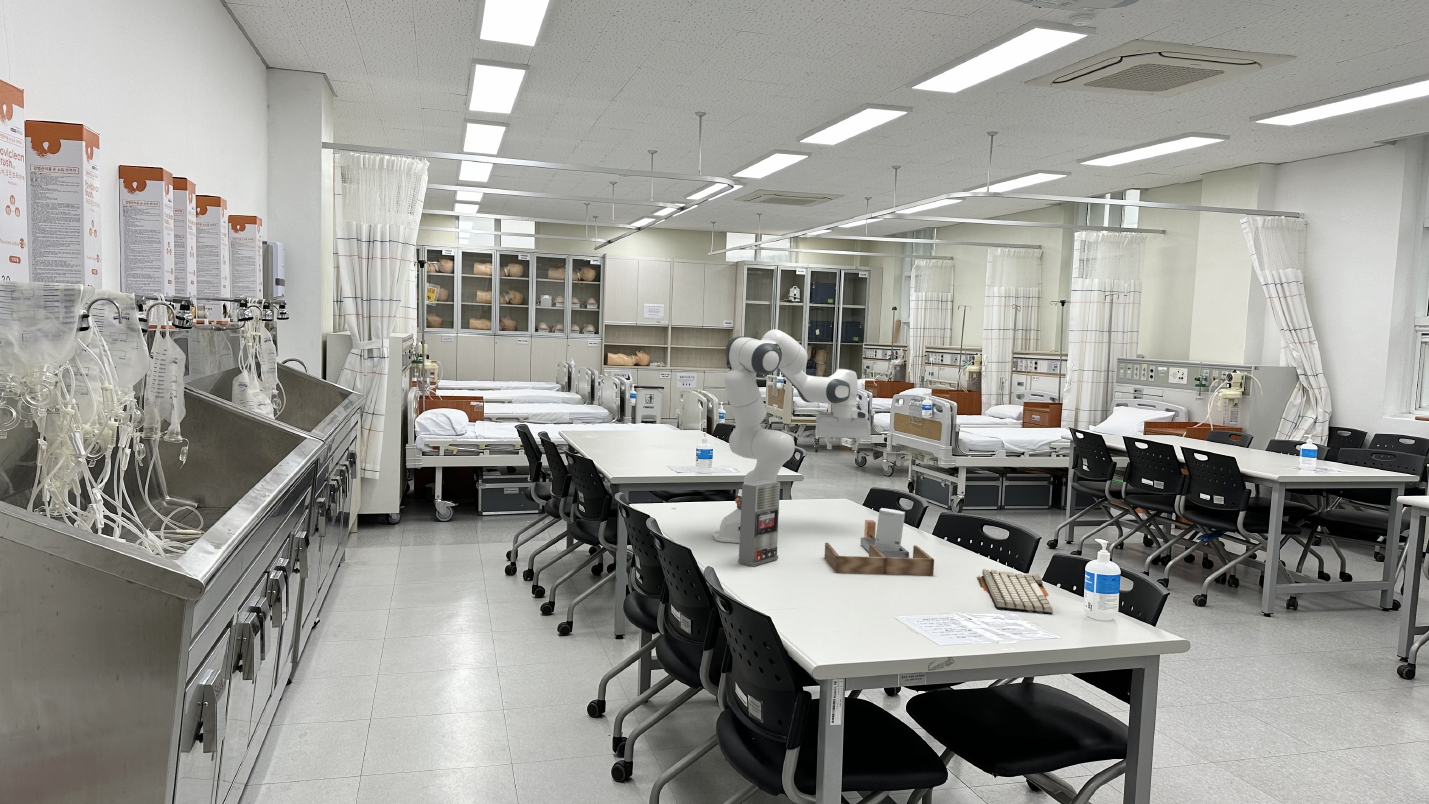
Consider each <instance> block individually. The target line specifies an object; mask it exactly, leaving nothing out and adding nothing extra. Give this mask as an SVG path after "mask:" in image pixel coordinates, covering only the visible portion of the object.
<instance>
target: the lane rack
mask: <svg viewBox="0 0 1429 804" xmlns="http://www.w3.org/2000/svg"><path fill="white" fill-rule="evenodd" d="M912 548H913V549H912V557H909V558H893V557H886V556H885V555H883V554H882V553H881V552H880V551H879V550H878V549H877V548H876V547H875V545H873V544H869V552H868V556H859V555H858V556H857V555H856V556H855V555H839V554H838V553H837V552H836V550H835V549H834V548H833V546H831V544H830V543H829V542H825V543H824V556H823V557H824V560H825V561H827V563H828V565H829V566H830V567H831V568H832V570H833V571H834V572H835V574H836V573H837V574H865V575H869V574H870V575H896V576H897V575H899V576H900V575H901V576H903V575H905V576H934V572H935V571H934V570H935V559H934V558H933V557H932V556H930V554H928V553H927V552H926V551H924V550H923V549H921V547H919V546H918V545H915V544H914V545H913V547H912Z"/></svg>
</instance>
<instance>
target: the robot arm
mask: <svg viewBox="0 0 1429 804" xmlns="http://www.w3.org/2000/svg"><path fill="white" fill-rule="evenodd" d="M724 353H725V359H726V366H727V368H728V369H729V371H728V372H726V375H725V376H724V386H725V392H726V396H727V399H728V403H729V406H730V409H731V411H732V414H733V418H734V421H735V422H734V423H735V429H733V431H732V432H731V433H730V435H729V439H728V446H729V448H730V451H731V452H732V453H733V454H734V455H737V456H739V457H742V458H744V459H752V460H756V462H755V463H756V464H755V467H754V469H753V470H750V471H749V472H747V474H745V475H744V478H743V484H746V483H752V482H758V481H764V480H770V481H777V478H778V475H779V472H780V470H781V468H782V466H783V465H784V464H785V463H787V461H789V460H790V459H791V458H792V457H793V455H794V452H795V448H796V446H795V445H796V444H795V441H794V438H793V436H791V435H790V434H788V433H786V432H783V431H781V430H776V429H769V428H763V427H762V426H761V423H762V422H763V421H764V420H765V418H766V416H767V408H766V405H765V403H764V400H763V398H762V394H761V391H760V388H759V387H758V385H757V374H758V375H761V376H762V375H763V376H766V375H772V374H773V373H774V372H776V371H777V369H778V370H779V372H780V373H781V375H782V376H783V377H784V378H786V380H787V381H788V382H789V383H790V384H791V385H792V386H793V387H794V388H795V389H796V391H797V393H798V395H799V397H800V399H801V400H802V401H803V402H805V403H807V404H808V403H809V404H810V403H815V404H816V403H818V404H828V405H831V406H832V407H831V408H832V409H831V411H819V412H818V413H817V414H816V415H815V422H816V424H815V425H816V426H815V430H814V431H815V433H814V434H815V435H816V436H817V437H820V438H821V437H823V438H824V441H825V443H826V449H827V450H832V449H833V447H832V446H833V444H832V443H830V442H829V440H830V438H844V439H845V438H846V439H855V444H852V446H851V450H852V451H857V450H858V446H859V444H860V442H861V440H862V439H865V440H866V439H870V437H871V435H872V434H871V422H870V420H868V419H869V413H868V412H866V411H863V410H861V409H859V408H858V409H857V401H856V400H857V395H858V376H857V372H856V371H855V370H852V369H848V368H844V367H843V368H840V367H839V368H836V370H835V372H834V373H833V374H831V375H830V376H827V377H826V376H816V375H810V374H807V373H806V372H804V369H805V368H806V365H807V363H808V353H807V350H806V349H805V348H804V347H803V346H802V345H801V344H800V343H799V342H798V341H797V340H796V339H794V337H792V336H791V335H789V334H787V333H786V332H784V331H782V330H779V329H771V330H768V331H767V332H766V333H765V334H764V335H763V336H762V338H761V339H760V340H759V339H756V338H753V337H747V336H745V335H744V336H741V335H740V336H739V335H738V336H735V337H732V338H731V339H729V341H727V344H726V346H725V351H724ZM734 502H735V504H736V509H735V510H733V511H732V512H730V513H729V514H727V515H726V516H725V517H723V519H722V520H721V522H720V525H719V530H716V531H714V532H713V535H712V538H713V539H714V540H715V541H717V542H719V543H720V542H721V543H733V544H740V523H741V502H742V497H741V498H740V497H736V498H735V499H734Z"/></svg>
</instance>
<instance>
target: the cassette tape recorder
mask: <svg viewBox="0 0 1429 804" xmlns="http://www.w3.org/2000/svg"><path fill="white" fill-rule="evenodd" d="M780 492H781V482H780V481H777V480H776V481H770V480H764V481H758V482H752V483H746V484H744V483H742V484H741V498H742V502H741V523H740V543H738V544H739V546H738V547H739V548H738V560H737V563H738V564H740V565H746V566H750V567H753V568H754V567H756V566H760V565H762V564H767V563H770V562H772V561H776V560H779V555H778V533H779V532H778V531H779V514H780V494H781V493H780Z"/></svg>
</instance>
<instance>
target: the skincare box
mask: <svg viewBox="0 0 1429 804" xmlns="http://www.w3.org/2000/svg"><path fill="white" fill-rule="evenodd" d="M905 516H906V512H905V511H901V510H896V509H891V508H890V509H889V508H883V507H881V508H880V509H879V512H878V516H877V517H878V519H877V523H876V531H875V538H876V539H875V545H874V546H875V547H876V548H877V549H878V550H879V551H900V546H902V543H901V542H902V538H903V531H904V523H905Z"/></svg>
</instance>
